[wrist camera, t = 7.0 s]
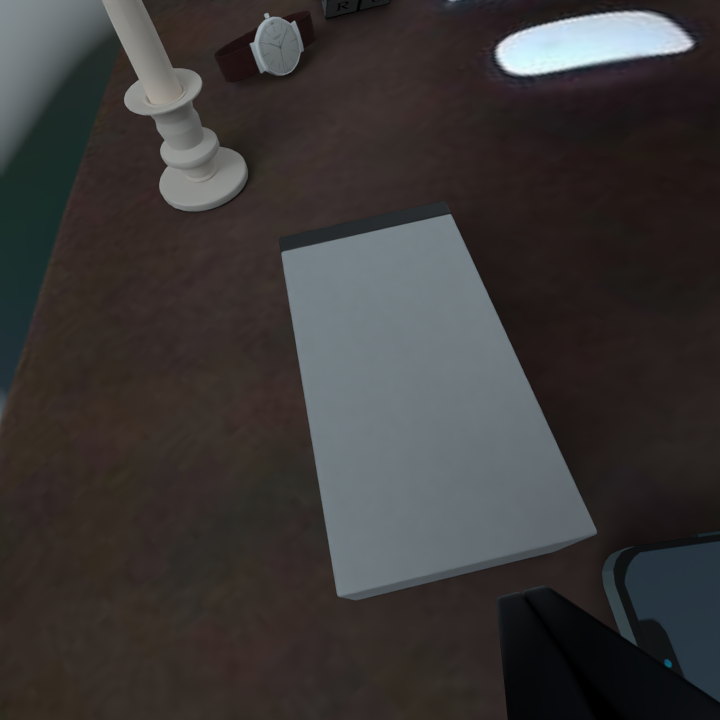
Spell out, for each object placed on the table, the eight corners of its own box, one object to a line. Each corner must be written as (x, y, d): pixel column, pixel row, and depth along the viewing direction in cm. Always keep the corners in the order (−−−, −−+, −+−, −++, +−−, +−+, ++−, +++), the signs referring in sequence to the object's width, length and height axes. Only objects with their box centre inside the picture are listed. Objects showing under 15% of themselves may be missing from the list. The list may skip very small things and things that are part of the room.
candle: (244, 146, 28) (166, -77, 19) (253, 200, 25) (167, -29, 16) (162, 164, 28) (44, -52, 19) (163, 221, 25) (25, 2, 16)
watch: (245, 102, 30) (227, 43, 27) (210, 78, 32) (189, 21, 29) (332, 55, 32) (324, -5, 29) (294, 35, 34) (282, -23, 31)
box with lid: (599, 533, 12) (445, 199, 18) (337, 597, 11) (278, 236, 18) (554, 551, 15) (439, 265, 22) (353, 601, 15) (299, 297, 21)
